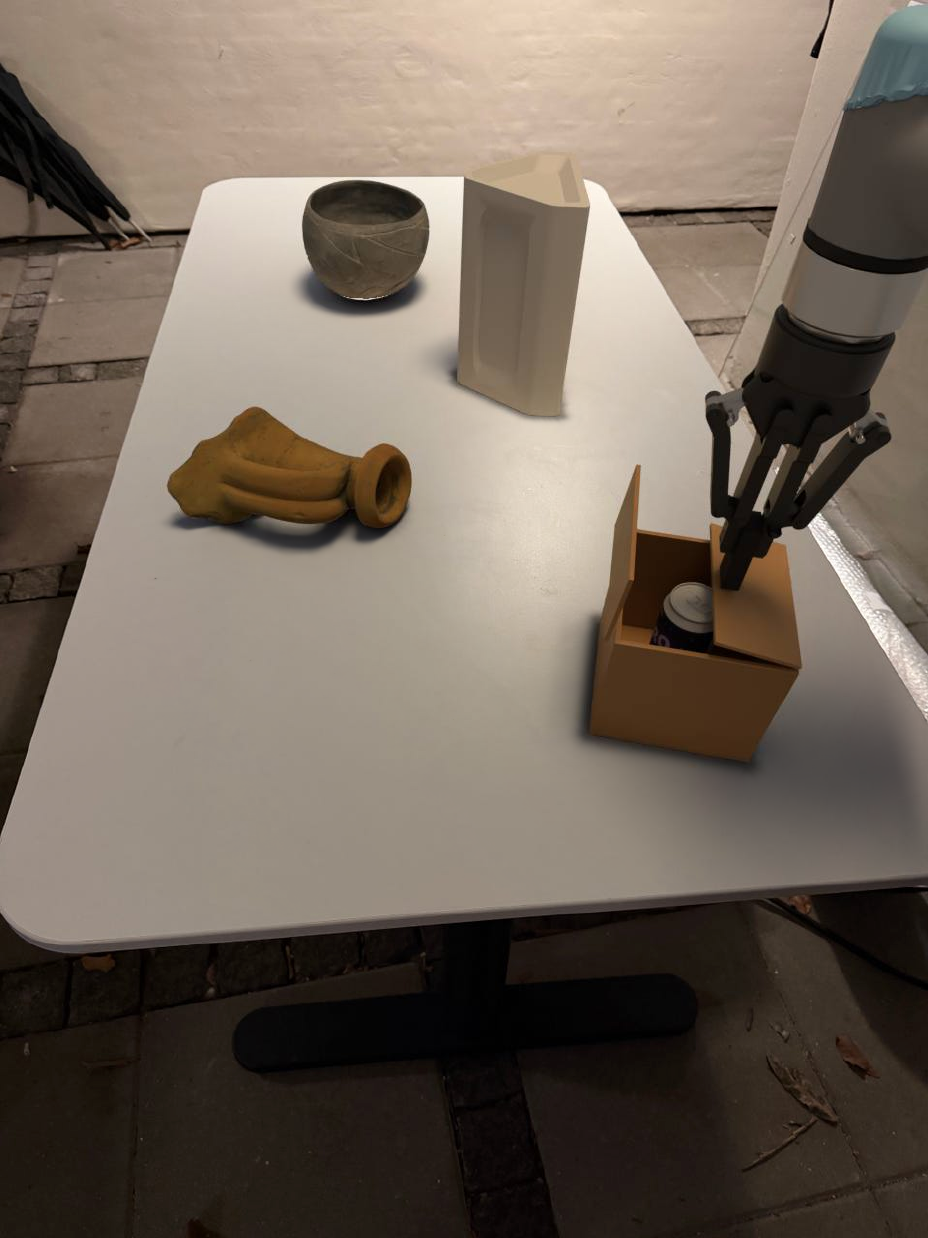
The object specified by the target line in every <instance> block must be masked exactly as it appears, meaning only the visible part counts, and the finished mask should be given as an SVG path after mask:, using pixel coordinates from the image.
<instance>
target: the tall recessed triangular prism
mask: <svg viewBox="0 0 928 1238" xmlns="http://www.w3.org/2000/svg"><path fill="white" fill-rule="evenodd" d="M578 159H579V158H578V155H577V154H576V153H573V152H564V151H563V152H562V151H538V152H533V153H529V154H525V155H521V156H517V157H516V156H515V157H512V158H508V159H504V160H499V161H495V162H490V163H486V164H481V165H477V166H473V167H470V168H469V167H468V168H466V169H464V171H463V189H462V191H463V193H462V219H461V220H462V221H461V222H462V223H461V224H462V225H461V250H460V253H461V254H460V279H459V280H460V281H459V282H460V284H459V309H458V310H459V311H458V313H459V315H458V338H457V339H458V340H457V341H458V343H457V367H456V370H457V371H456V373H457V374H456V380H457V383H458V384H460V385H462V386H465V387H466V388H468V389H470V390H473V391H475V392H477V393H478V394H482V395H484V396H486V397H488V398H490V399H492V400H494V401H497V402H499V403H501V404H503V405H505V406H508V407H510V408H511V409H514V410H516V411H518V412H520V413H522V414H525V415H527V416H528V415H529V416H539V417H557V416H559V415H560V413H561V406H562V401H563V393H564V387H565V379H566V373H567V365H568V358H569V352H570V345H571V339H572V331H573V324H574V318H575V312H576V305H577V297H578V291H579V285H580V277H581V271H582V265H583V257H584V250H585V244H586V237H587V230H588V223H589V218H590V217H589V216H590V211H591V210H590V209H591V202H590V198H589V195H588V192H587V188H586V187H587V186H586V184H585V181H584V177H583V174H582V170H581V167H580V162H579V160H578Z"/></svg>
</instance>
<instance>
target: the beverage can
mask: <svg viewBox="0 0 928 1238" xmlns="http://www.w3.org/2000/svg"><path fill="white" fill-rule="evenodd" d="M649 645H655V646H661V647H667V648H673V649H679V650H685V651H691V652H697V653H703V654H709V655H711V653H712V651H713V649H714V646H715V645H714V636H713V608H712V588H711V587H709V586H706V585H704V584H700V583H693V582H690V583H683V584H680V585H678V586H676V587H675V588H674V589H673V590H672V592H671V593H670V594H669V595H667V596H666V598H665V599H664V601H663V604H662V607H661V610H660V613H659V616H658V619H657V622H656V625H655V628H654V631H653V634H652V637H651V640H650V643H649Z"/></svg>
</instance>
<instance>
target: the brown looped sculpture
mask: <svg viewBox="0 0 928 1238" xmlns="http://www.w3.org/2000/svg"><path fill="white" fill-rule="evenodd" d="M412 483H413V479H412V469H411V464H410V461H409V460H408V458H407V456H406V454H404V453H403V452H402V451H401V450H400V449H399V448H398V447H396V446H395V445H393V444H390V443H385V442H383V443H379V444H377V445H375V446H373V447H371V448H370V449H368V450H367V451H366V452H365V453H364V455H363V457H361V456H354V455H348V454H345V453H341V452H338V451H335V450H333V449H330V448H329V447H326V446H324V445H321V444H319V443H317V442H315V441H312V440H311V439H310V440H309V439H307V438H304V437H303V436H301V435H299V434H298V433H296V432H295V431H294V430H292V429H291V428H290V427H289V426H287V425H285V424H284V423H283V422H282V421H280V420H279V419H277V418H276V417H274V416H273V415H272V414H270V412H268V411H267V410H266V409H264V408H263V407H259V406H250V407H248V408H247V409H244V410H243V411H242V412H241V413H240V414H237V415H236V416H235V417H234V418H233V419H232V421H231V422H230V423H229V425H228V427H226V428H225V430H222V432H220V433H219V434H217V435H215V436H213V437H211V438H210V437H209V438H207V439H202V440H200V441H199V442H198V443H197V444H196V446H195V447H194V449H193V450H192V452H191V455H190V456H189V457H188V458H187V460H185V462H183V463H182V464H181V465H180V466H179V467H178V468H177V469H175V470H174V471H172V473H171V474H169V477H168V480H167V484H166V488H167V492H168V493H169V494H170V496H171V497H172V498H173V499H174V501H175V502H176V503H177V504H178V507H179V508H180V510H181V511H182V513H183V515H185V516H186V517H187V518H192V519H198V520H211V521H213V522H214V523H219V524H224V525H225V524H226V525H227V524H229V525H230V524H236V523H239V522H242V521H244V520H245V519H247V518H249V517H250V516H252V515H257V516H262V517H266V518H269V519H272V520H273V519H274V520H277V521H281V522H287V523H293V524H298V525H320V524H321V525H322V524H326V523H327V524H328V523H332V522H334V521H335V520H337V519H339V518H340V517H342V516H343V515H344V514H345V513H346V512H347V511H348V510H349V509H355V512H356V515H357V518H358V519H359V521H360V522H361V523H362V524H363V525H364V526H368V527H370V528H374V529H383V528H386V527H390V526H391V525H393V524H394V523H396V522H397V521H398V520H399V519H400V517H401V516H402V515H403V513H404V511H405V509H406V507H407V505H408V502H409V500H410V496H411V493H412V485H413V484H412Z"/></svg>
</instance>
